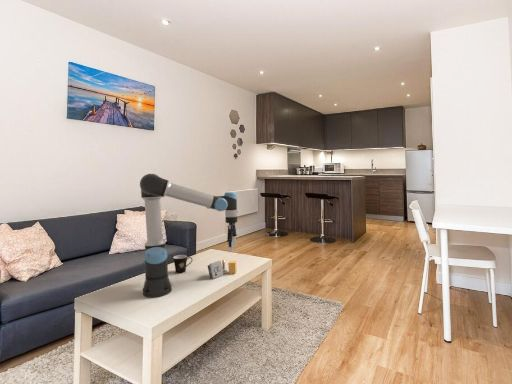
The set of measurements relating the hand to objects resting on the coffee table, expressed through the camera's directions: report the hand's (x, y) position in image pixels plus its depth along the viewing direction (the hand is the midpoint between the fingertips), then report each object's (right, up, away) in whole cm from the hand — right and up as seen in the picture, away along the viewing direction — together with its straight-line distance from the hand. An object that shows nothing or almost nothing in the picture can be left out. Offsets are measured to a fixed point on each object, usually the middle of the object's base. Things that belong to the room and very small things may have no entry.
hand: (232, 248), depth 183 cm
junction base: (-6, -15, +4) cm, 17 cm away
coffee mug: (-33, -16, +4) cm, 37 cm away
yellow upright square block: (0, -16, +1) cm, 16 cm away
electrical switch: (-10, -16, -5) cm, 20 cm away
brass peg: (-6, -14, +4) cm, 16 cm away
